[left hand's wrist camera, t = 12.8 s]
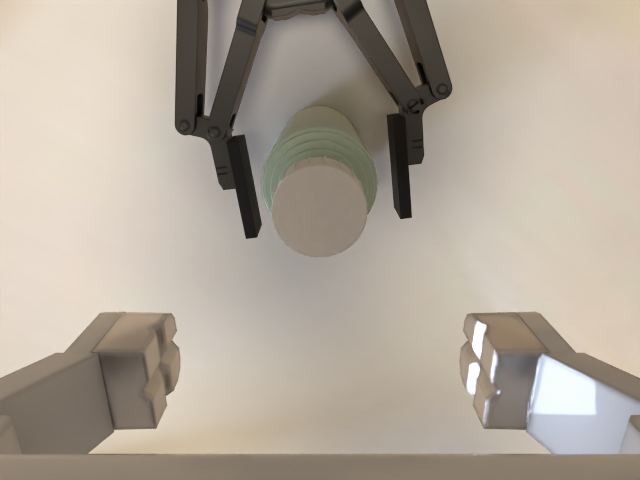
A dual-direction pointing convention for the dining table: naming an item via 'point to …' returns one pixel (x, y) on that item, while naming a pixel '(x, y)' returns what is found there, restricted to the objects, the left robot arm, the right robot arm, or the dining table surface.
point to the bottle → (319, 149)
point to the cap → (319, 207)
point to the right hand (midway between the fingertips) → (327, 221)
